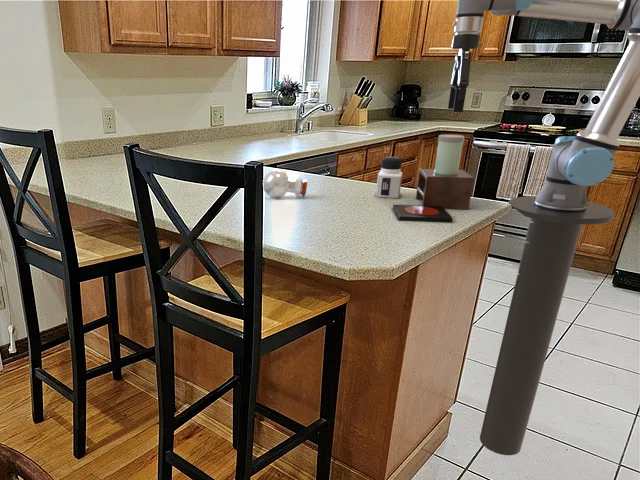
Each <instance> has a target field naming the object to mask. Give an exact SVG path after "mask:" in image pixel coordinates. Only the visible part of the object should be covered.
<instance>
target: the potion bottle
mask: <svg viewBox="0 0 640 480" xmlns="http://www.w3.org/2000/svg"><path fill="white" fill-rule="evenodd" d="M263 179H264V188H263V191H264V192H265V194H266V195H267V196H268V197H270V198H273V199H279V198H283V196H285V195H286V194H287V193H293V194H294V195H295V196H296V197H297V198H299V197H300V195H301V196H302V197H303V198H305V197H306V196H305V195H306V194H307V187H308V180H307V178H305V179H302V178H301V177H300V176H299V177H298V178H295V179H291V178H289V177H288V175H287V172H286V171H283V170H280V169H272V170H270V171H269V172H268V173H266V174H264V177H263Z"/></svg>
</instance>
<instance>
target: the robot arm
mask: <svg viewBox="0 0 640 480" xmlns="http://www.w3.org/2000/svg"><path fill="white" fill-rule="evenodd" d="M485 11H487V12H490V13H491V14H492V15H494V16H499V17H501V16H512V17H513V16H515V17H516V16H517V17H527V18H538V19H547V20H558V21H567V22H568V21H571V22H580V23H590V24H591V23H592V24H600V25H601V24H602V25H606V26H607V28H608V29H613V30H619V31H620V30H621V31H625V32H627V34H626V37H627V39H628V42H629V43H628V45H627V47H626V50H625V51H624V53H623V55H622V57H621V59H620V61H619V63H618V64H617V66H616V68H615V70H614V73H613V74H612V76H611V79H610V80H609V82H608V85H607V86H606V88H605V90H604V92H603V94H602V96H601V99H600V100H599V101H598V104H597V105H596V108H595V110H594V111H593V114H592V116H591V118H590V120H589V121H588V122H587V123H588V124H587V125H586V127H585V129H584V130H582V131H579V132H577V133H576V135H575V136H571V135H570V136H565V135H564V136H563V135H562V136H558V137H557V138H555V142H554V144H553V147H552V153H551V157H550V161H549V166H548V169H547V174H546V179H545V182H544V184H543V186H542V187H541V189H540V190H539V192H538V194H537V195H536V196H537V197H536V200H535V203H534V204H535V206H537V207H540V208H543V209H547V210H553V211H560V212H582V211H585V210H586V207H587V205H588V204H587V202H588V200H587V199H588V198H587V189H586V187H590V186H595V185H598V184H600V183H601V182H603V181H604V180H606V179H607V178H608V177H609V176H610V175H611V174H612V172H613V170H614V166H615V158H614V157H615V155H616V153H617V150H618V149H619V147H620V142H619V140H618V137H619V135H620V133H621V132H622V129H624V127H625V124H626V122H627V121H628V118H629V116H630V115H631V113H632V112H633V109H634V107H635V105H636V104H637V102H638V100H639V98H640V0H457V8H456V15H455V21H453V22H452V25H453V26H454V28H453V33H454V35H453V36H452V41H451V49H452V50H458V52H456V54H455V57H454V66H453V70H452V74H451V80H450V89H449V96H448V102H447V103H448V104H447V110H452V113H463V112H464V108H465V102H466V101H465V100H466V96H467V95H466V94H467V88H468V86H469V85H470V83H469V81H470V72H471V61H472V55H473V52H472V51H471V50H476V49H478V48H479V46H480V40H481V34H480V33H482V30H483V24H484V16H485V15H484V14H485Z"/></svg>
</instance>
